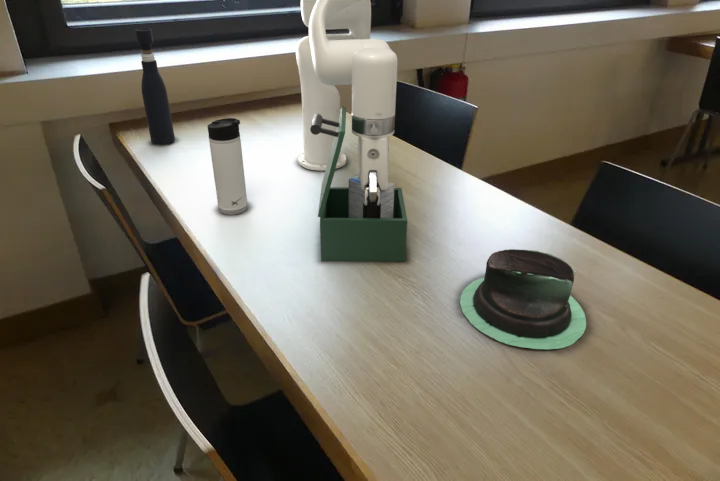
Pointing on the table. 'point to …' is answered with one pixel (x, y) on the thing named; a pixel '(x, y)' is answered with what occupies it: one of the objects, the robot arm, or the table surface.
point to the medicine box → (359, 198)
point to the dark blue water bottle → (154, 93)
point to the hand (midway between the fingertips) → (370, 211)
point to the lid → (334, 152)
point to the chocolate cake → (525, 301)
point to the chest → (361, 231)
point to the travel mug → (228, 165)
